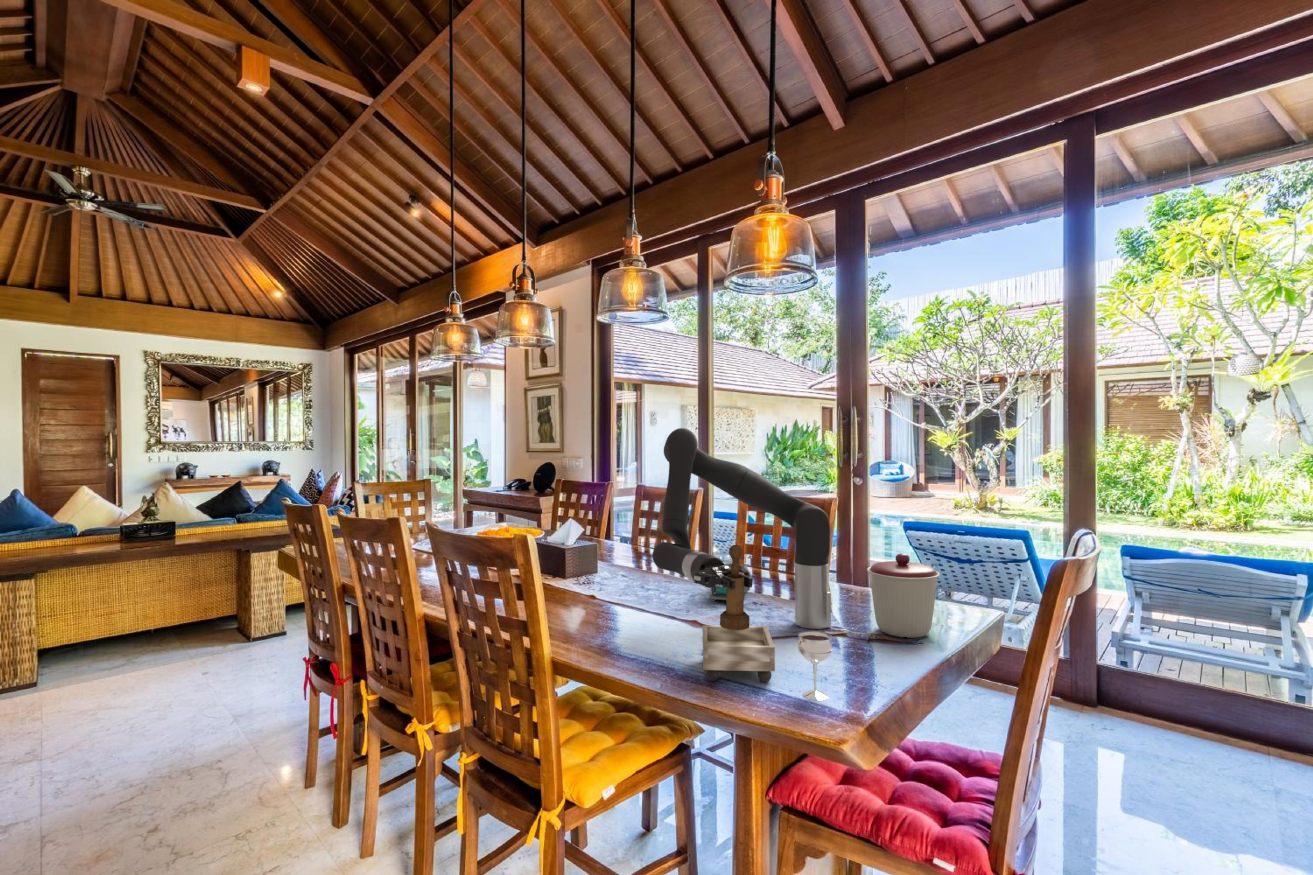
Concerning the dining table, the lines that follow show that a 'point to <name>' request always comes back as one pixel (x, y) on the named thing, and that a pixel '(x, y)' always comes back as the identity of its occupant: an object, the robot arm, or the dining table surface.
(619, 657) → the dining table surface
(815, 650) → the wineglass
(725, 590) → the toy van
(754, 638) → the cart
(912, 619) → the canister
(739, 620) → the mortar and pestle
